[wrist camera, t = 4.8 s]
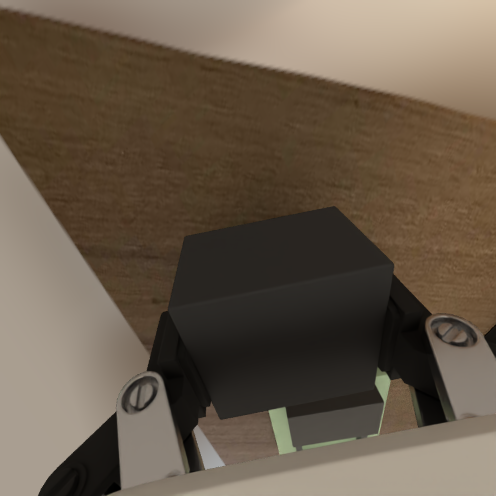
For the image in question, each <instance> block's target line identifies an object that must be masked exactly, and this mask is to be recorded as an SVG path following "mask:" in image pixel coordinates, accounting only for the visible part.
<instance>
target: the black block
mask: <svg viewBox="0 0 496 496" xmlns="http://www.w3.org/2000/svg"><path fill="white" fill-rule="evenodd" d="M393 271H394V264H393V262H392V261H391V260H390V259H389V258H388V257H387V256H386V255H385V254H384V253H383V252H382V251H381V250H379V249H378V248H377V247H376V246H375V245H374V244H373V243H372V242H371V241H370V240H369V239H368V238H367V237H366V236H365V235H364V234H363V233H362V232H361V231H360V230H359V229H358V228H357V227H356V226H355V225H354V224H353V223H352V222H351V221H350V220H349V219H348V218H347V217H346V216H345V215H344V214H343V213H341V212H340V211H339V210H338V209H337V208H336V207H335V206H332V207H327V208H322V209H317V210H313V211H308V212H303V213H298V214H293V215H288V216H283V217H278V218H273V219H268V220H263V221H258V222H253V223H248V224H243V225H238V226H233V227H229V228H224V229H219V230H214V231H209V232H204V233H199V234H194V235H189V236H185V237H184V241H183V246H182V250H181V254H180V259H179V263H178V267H177V272H176V276H175V280H174V285H173V289H172V293H171V298H170V302H169V306H168V311H169V314H170V316H171V318H172V320H173V322H174V324H175V326H176V328H177V330H178V332H179V334H180V337H181V339H182V341H183V343H184V345H185V346H186V348H187V351H188V353H189V355H190V357H191V359H192V361H193V363H194V365H195V367H196V369H197V371H198V374H199V376H200V378H201V380H202V382H203V384H204V386H205V388H206V390H207V392H208V395H209V397H210V399H211V401H212V404H213V406H214V408H215V410H216V412H217V414H218V416H219V418H220V419H221V420H223V419H228V418H233V417H238V416H243V415H248V414H253V413H258V412H263V411H268V410H273V409H278V408H283V407H288V406H293V405H298V404H303V403H308V402H313V401H318V400H324V399H329V398H334V397H339V396H344V395H349V394H354V393H359V392H364V391H369V390H373V389H374V386H375V380H376V374H377V368H378V361H379V355H380V348H381V342H382V336H383V330H384V324H385V318H386V312H387V306H388V301H389V295H390V289H391V283H392V277H393Z"/></svg>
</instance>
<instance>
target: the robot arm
mask: <svg viewBox="0 0 496 496" xmlns="http://www.w3.org/2000/svg"><path fill="white" fill-rule="evenodd" d="M378 368H379V369H380V371H382V372H386V374H387V375H388V377H389V379H390V380H394V379H399V378H401V379H402V380H403V382H404V383H406V384H408V385H409V389H410V393H411V397H412V402H413V406H414V411H415V415H416V420H417V424H418V428H414V429H409V430H404V431H399V432H393V433H388V434H383V435H378V436H373V437H368V438H362V439H357V440H352V441H347V442H342V443H337V444H332V445H327V446H322V447H317V448H312V449H306V450H301V451H296V452H291V453H286V454H281V455H276V456H271V457H266V458H261V459H256V460H251V461H247V462H242V463H237V464H232V465H227V466H222V467H217V468H212V469H207V470H205V468H204V465H203V461H202V458H201V454H200V451H199V448H198V444H197V441H196V438H195V434H194V431H193V429H194V428H195V427H196V425H197V424H198V418H202V417H206V407H208V406H210V404H211V399H210V397H209V395H208V392H207V390H206V388H205V386H204V384H203V382H202V380H201V378H200V376H199V374H198V371H197V369H196V367H195V365H194V363H193V361H192V359H191V357H190V355H189V353H188V351H187V348H186V346H185V345H184V343H183V341H182V339H181V337H180V334H179V332H178V330H177V328H176V326H175V324H174V322H173V320H172V318H171V316H170V314H169V311H166V312H163V313H162V314H161V317H160V321H159V324H158V328H157V332H156V336H155V340H154V344H153V348H152V352H151V356H150V360H149V364H148V367H147V371H146V372H143V373H140V374H138V375H136V376H135V377H133V378H132V379H130V380H129V381H128V382H127V383H126V384H125V385H124V387H123V389H122V390H121V392H120V393H119V396H118V398H117V404H116V412H115V413H114V414H113V415H112V416H111V417H110V418H109V419H108V420H107V421H106V422H105V423H104V424H103V425H102V426H101V427H100V428H99V429H97V430H96V431H95V432H94V433H93V434H92V435H91V436H90V437H89V438H88V439H87V440H86V441H85V442H84V443H83V444H82V445H81V446H80V447H79V448H78V449H76V450H75V451H74V452H73V453H72V454H71V455H70V456H69V457H68V458H67V459H66V460H65V461H64V462H63V463H62V464H61V465H60V466H59V467H58V468H57V469H56V470H55V471H54V472H53V473H52V474H51V475H50V476H49V478H48V479H47V480H46V482H45V484H44V485H43V487H42V488H41V490H40V492H39V495H38V496H496V344H495V343H492V342H489V341H486V340H485V338H484V336H483V334H482V333H481V332H480V330H479V329H478V328H477V327H476V326H475V325H474V324H472V323H471V322H470V321H468V320H466V319H464V318H462V317H459V316H456V315H453V314H447V313H437V314H433V315H432V314H431V313H430V312H429V311H428V310H427V309H426V308H425V307H424V306H423V304H422V303H421V302H420V301H419V300H418V299H417V298H416V297H415V296H414V295H413V294H412V293H411V292H410V291H409V290H408V289H407V288H406V287H405V286H404V285H403V284H402V283H401V282H400V281H399V280H398V278H397V277H396V276H395V275H394V274H393V277H392V283H391V289H390V295H389V301H388V306H387V312H386V318H385V324H384V330H383V336H382V342H381V348H380V355H379V361H378Z"/></svg>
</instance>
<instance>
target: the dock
mask: <svg viewBox="0 0 496 496" xmlns="http://www.w3.org/2000/svg"><path fill="white" fill-rule="evenodd" d="M390 381H391V380H390V379H389V377H388V375H387V374H386V372H382V371H380V369H379V368H377V374H376V380H375V386H374V389H373V390H369V391H364V392H359V393H354V394H349V395H344V396H339V397H334V398H329V399H324V400H318V401H313V402H308V403H303V404H298V405H293V406H288V407H283V408H278V409H273V410H268V411H269V415H270V418H271V422H272V426H273V430H274V434H275V438H276V442H277V446H278V449H279V453H280V455H281V454H286V453H291V452H296V451H301V450H306V449H312V448H317V447H322V446H327V445H332V444H337V443H342V442H347V441H352V440H357V439H362V438H368V437H373V436H378V435H379V432H380V427H381V423H382V418H383V413H384V409H385V404H386V399H387V395H388V390H389V385H390Z"/></svg>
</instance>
